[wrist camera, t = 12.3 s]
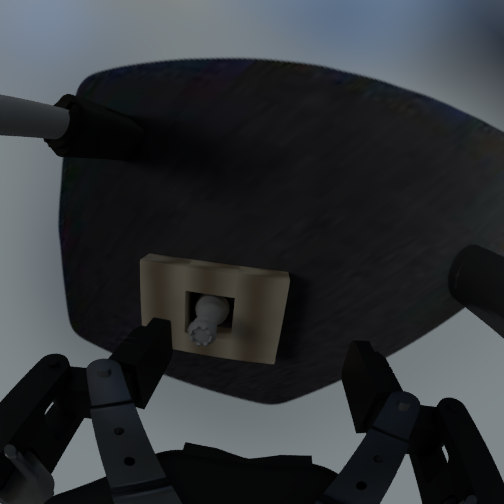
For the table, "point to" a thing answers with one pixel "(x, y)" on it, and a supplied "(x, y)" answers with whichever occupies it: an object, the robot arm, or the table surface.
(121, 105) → the table surface
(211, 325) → the rook chess piece
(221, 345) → the socket board
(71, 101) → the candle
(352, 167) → the table surface
